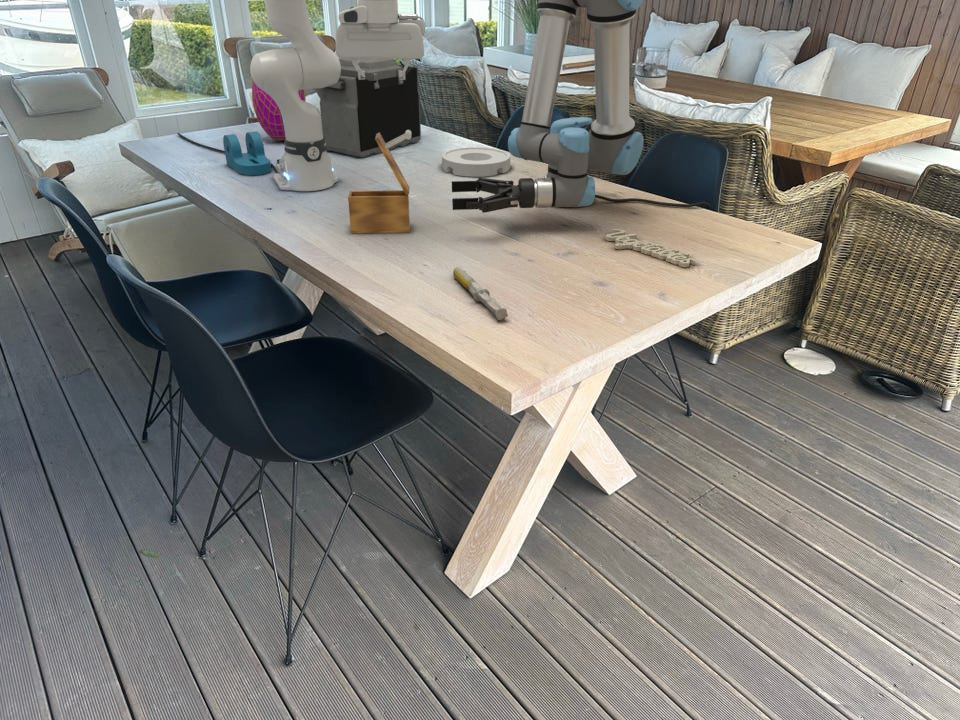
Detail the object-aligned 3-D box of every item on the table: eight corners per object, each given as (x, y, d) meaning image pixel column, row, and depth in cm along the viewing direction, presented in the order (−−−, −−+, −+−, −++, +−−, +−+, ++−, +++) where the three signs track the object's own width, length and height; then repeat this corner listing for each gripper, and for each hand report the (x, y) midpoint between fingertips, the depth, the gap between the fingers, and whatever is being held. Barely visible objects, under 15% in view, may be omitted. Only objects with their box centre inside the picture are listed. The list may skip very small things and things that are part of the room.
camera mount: (227, 164, 233) (221, 132, 227) (257, 160, 238) (252, 129, 233) (244, 176, 220) (239, 143, 215) (276, 172, 225) (271, 139, 220)
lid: (374, 138, 166) (404, 123, 164) (376, 133, 170) (404, 118, 169) (406, 195, 173) (434, 180, 172) (406, 189, 178) (434, 174, 177)
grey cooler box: (383, 133, 276) (378, 52, 261) (425, 141, 265) (422, 56, 250) (314, 150, 251) (304, 61, 235) (358, 160, 240) (350, 67, 224)
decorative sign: (591, 236, 174) (616, 227, 180) (591, 240, 174) (616, 231, 180) (679, 267, 157) (703, 256, 163) (678, 271, 158) (703, 260, 163)
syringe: (449, 274, 155) (449, 263, 153) (465, 272, 156) (464, 260, 154) (490, 323, 135) (491, 310, 133) (508, 319, 136) (508, 307, 134)
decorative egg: (293, 132, 276) (283, 50, 261) (319, 140, 264) (310, 56, 249) (249, 139, 265) (236, 54, 250) (273, 148, 253) (261, 60, 238)
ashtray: (444, 158, 243) (444, 146, 241) (509, 159, 243) (510, 147, 241) (439, 176, 224) (438, 163, 222) (510, 177, 223) (510, 165, 221)
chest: (351, 233, 177) (347, 197, 172) (353, 226, 182) (349, 190, 177) (409, 232, 178) (407, 196, 173) (409, 225, 183) (408, 190, 178)
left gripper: (424, 13, 158) (426, 77, 165) (335, 12, 157) (340, 77, 164) (424, 15, 152) (426, 81, 159) (331, 14, 151) (337, 81, 158)
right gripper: (529, 164, 186) (450, 166, 185) (540, 194, 165) (452, 197, 164) (528, 191, 190) (451, 193, 189) (539, 224, 169) (453, 226, 168)
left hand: (382, 79), depth 161 cm, fingers open, 8 cm apart
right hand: (451, 195), depth 177 cm, fingers open, 13 cm apart
